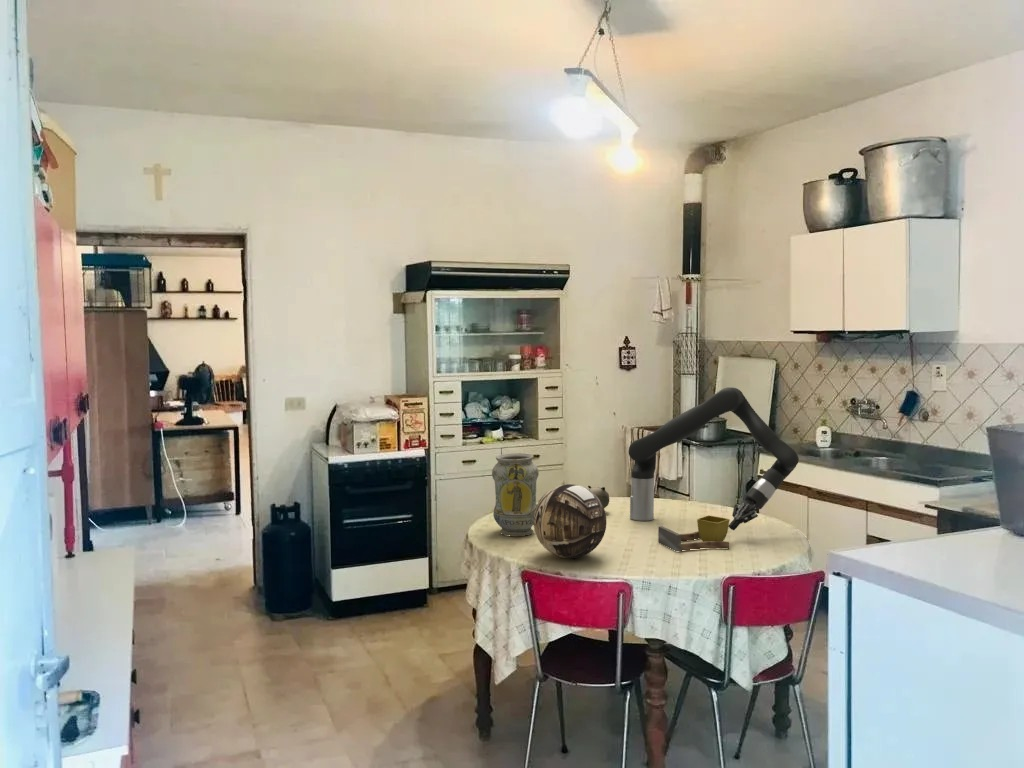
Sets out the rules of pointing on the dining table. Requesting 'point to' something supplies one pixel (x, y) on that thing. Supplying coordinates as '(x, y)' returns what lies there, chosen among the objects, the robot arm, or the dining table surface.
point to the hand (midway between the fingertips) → (730, 528)
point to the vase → (515, 493)
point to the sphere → (569, 521)
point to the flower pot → (712, 528)
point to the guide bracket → (674, 540)
